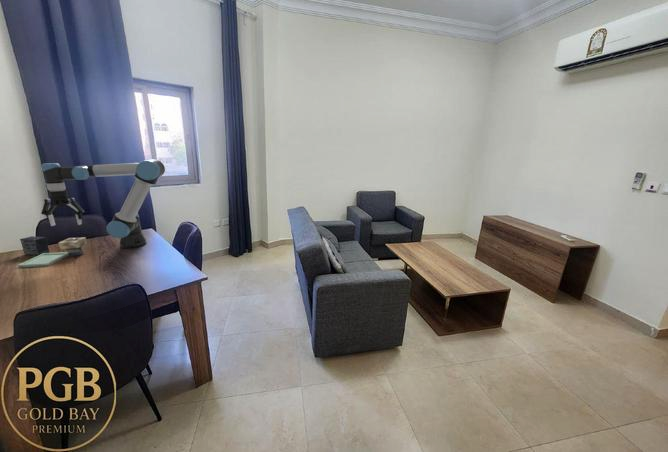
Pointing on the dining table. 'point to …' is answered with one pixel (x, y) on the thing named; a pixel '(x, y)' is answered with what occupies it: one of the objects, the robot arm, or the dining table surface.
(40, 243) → the small box
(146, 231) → the dining table surface
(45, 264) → the tray
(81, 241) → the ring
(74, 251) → the dark grey rounded piece
